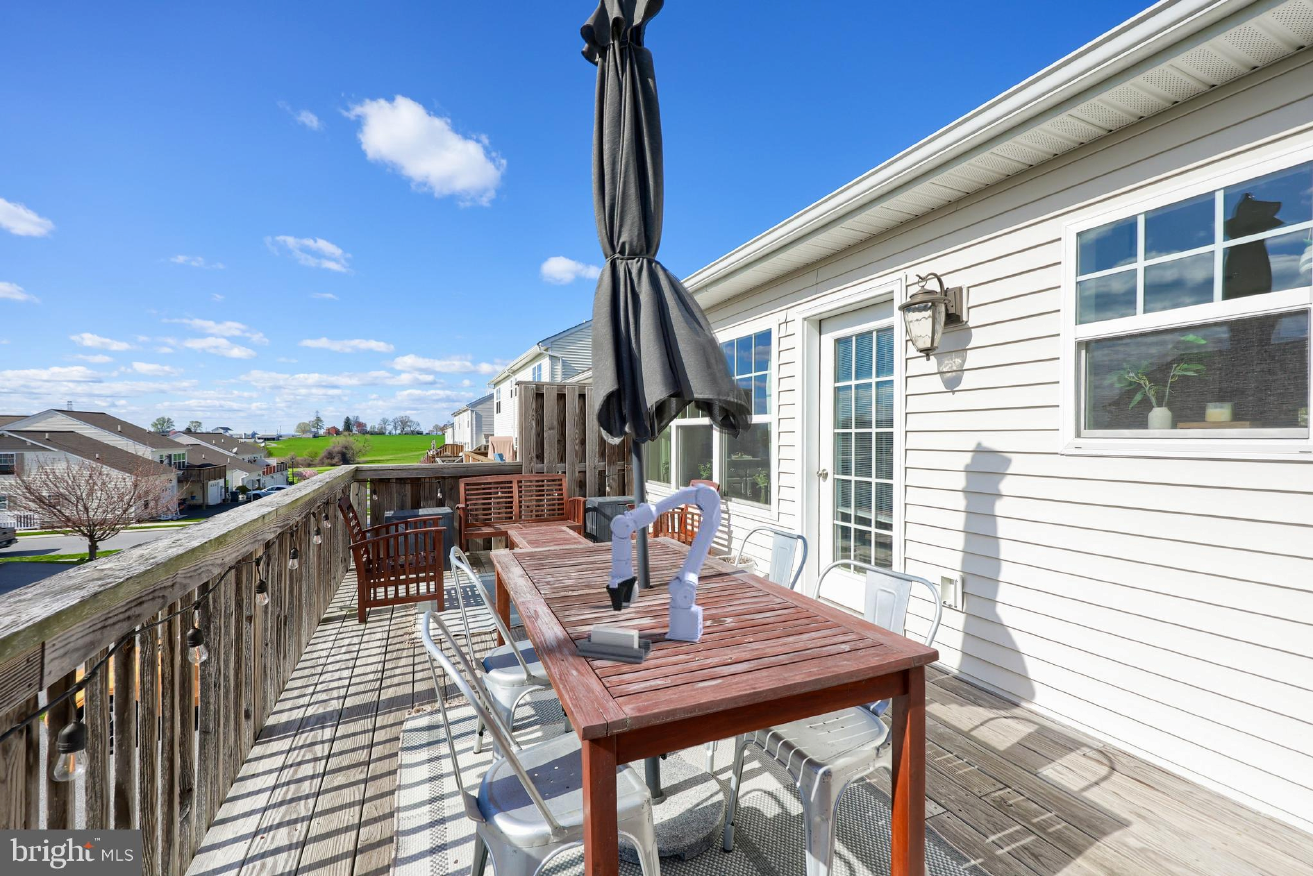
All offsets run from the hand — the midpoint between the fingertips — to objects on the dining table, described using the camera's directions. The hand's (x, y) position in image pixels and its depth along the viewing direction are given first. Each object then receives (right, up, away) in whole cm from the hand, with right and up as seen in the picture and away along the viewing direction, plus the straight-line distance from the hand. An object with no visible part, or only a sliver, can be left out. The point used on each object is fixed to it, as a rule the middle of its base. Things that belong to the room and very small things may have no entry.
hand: (622, 606), depth 152 cm
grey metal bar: (-1, -8, -9) cm, 12 cm away
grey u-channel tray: (-1, -9, -9) cm, 13 cm away
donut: (-1, -9, +30) cm, 31 cm away
